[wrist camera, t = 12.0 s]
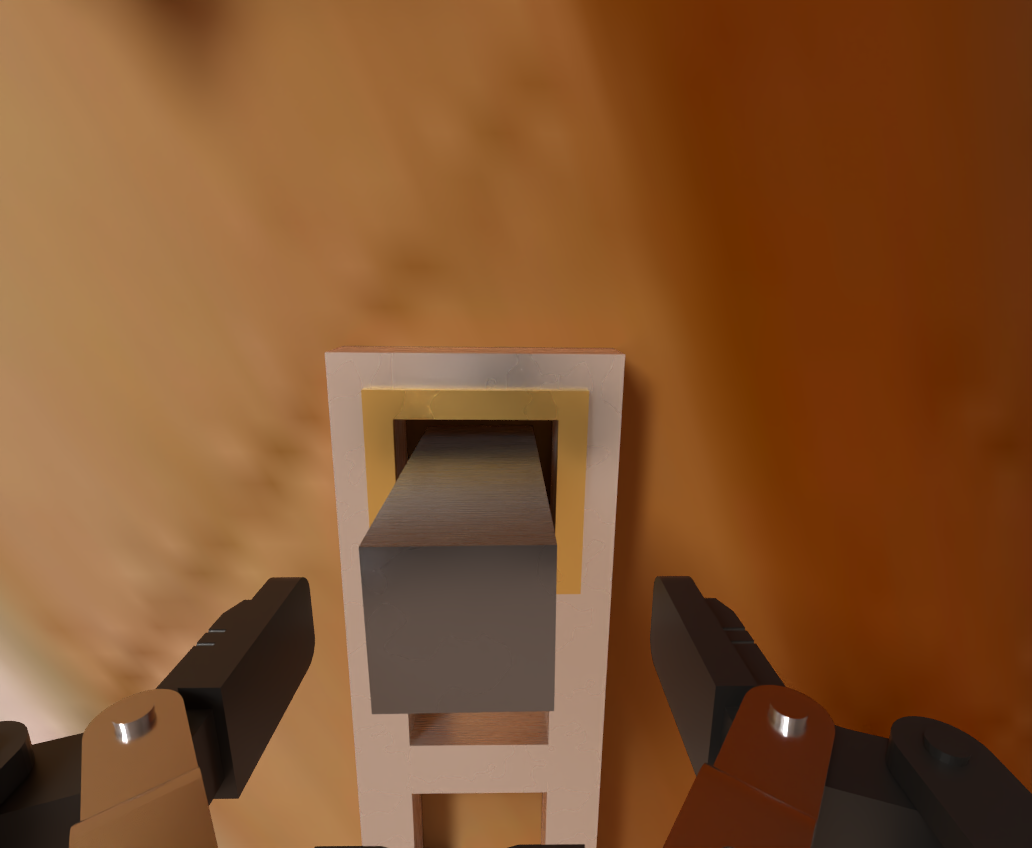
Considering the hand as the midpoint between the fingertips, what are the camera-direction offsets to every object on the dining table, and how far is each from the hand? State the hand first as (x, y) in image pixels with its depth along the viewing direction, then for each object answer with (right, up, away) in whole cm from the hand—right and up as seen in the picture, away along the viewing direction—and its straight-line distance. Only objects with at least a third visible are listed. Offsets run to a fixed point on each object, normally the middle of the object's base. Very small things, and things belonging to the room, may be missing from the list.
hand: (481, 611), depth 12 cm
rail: (-1, -5, +10) cm, 12 cm away
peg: (-1, +2, +9) cm, 9 cm away
